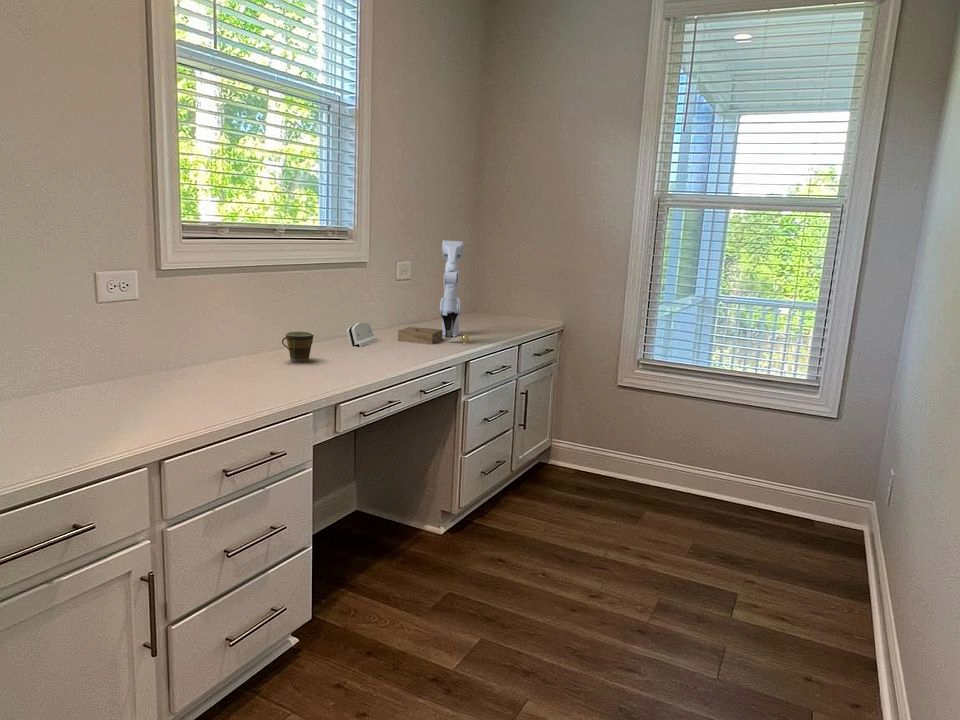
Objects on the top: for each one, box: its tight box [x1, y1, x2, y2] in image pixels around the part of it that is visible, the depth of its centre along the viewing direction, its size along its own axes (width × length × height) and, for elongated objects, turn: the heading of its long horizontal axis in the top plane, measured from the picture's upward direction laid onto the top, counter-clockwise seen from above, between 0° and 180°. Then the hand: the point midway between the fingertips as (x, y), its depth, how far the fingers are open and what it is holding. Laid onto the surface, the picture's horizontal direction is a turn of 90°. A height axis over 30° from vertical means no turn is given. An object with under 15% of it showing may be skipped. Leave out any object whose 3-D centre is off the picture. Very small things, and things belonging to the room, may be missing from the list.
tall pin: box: [444, 320, 453, 339], centre depth 306 cm, size 3×3×9 cm
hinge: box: [346, 322, 379, 348], centre depth 294 cm, size 17×5×10 cm, turn 162°
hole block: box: [397, 326, 443, 345], centre depth 309 cm, size 14×16×4 cm
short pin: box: [460, 333, 470, 345], centre depth 307 cm, size 3×3×4 cm
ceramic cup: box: [281, 331, 314, 363], centre depth 253 cm, size 13×10×10 cm
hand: (449, 329), depth 306 cm, fingers closed on tall pin, 3 cm apart
